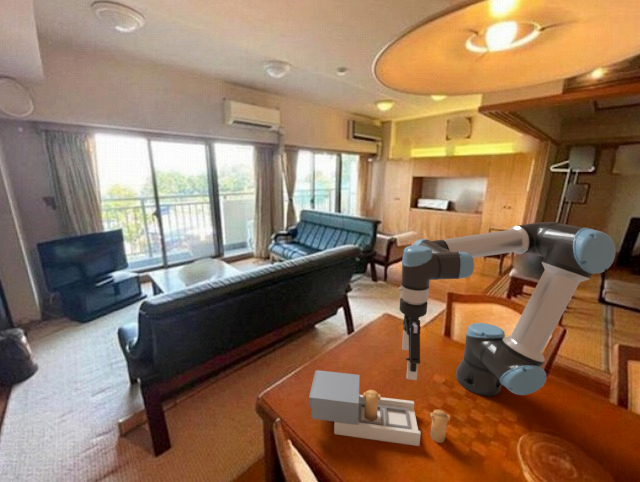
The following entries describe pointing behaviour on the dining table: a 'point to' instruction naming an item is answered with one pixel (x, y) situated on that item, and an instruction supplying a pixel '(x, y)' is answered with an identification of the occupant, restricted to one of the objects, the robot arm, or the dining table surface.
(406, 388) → the dining table surface
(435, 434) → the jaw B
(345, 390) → the lid
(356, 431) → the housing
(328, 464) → the dining table surface
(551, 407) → the dining table surface
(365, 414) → the tan rounded piece
